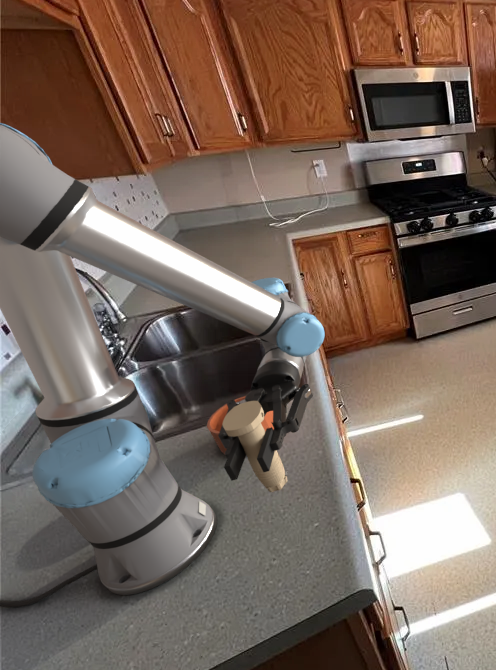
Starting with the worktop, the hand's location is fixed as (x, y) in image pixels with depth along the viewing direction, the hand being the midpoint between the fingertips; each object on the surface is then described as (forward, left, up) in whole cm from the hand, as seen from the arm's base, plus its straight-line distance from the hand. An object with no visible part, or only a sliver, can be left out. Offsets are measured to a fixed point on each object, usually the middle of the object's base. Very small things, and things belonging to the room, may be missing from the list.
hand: (247, 468), depth 59 cm
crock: (+5, +33, -18) cm, 38 cm away
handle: (+3, +5, -10) cm, 11 cm away
